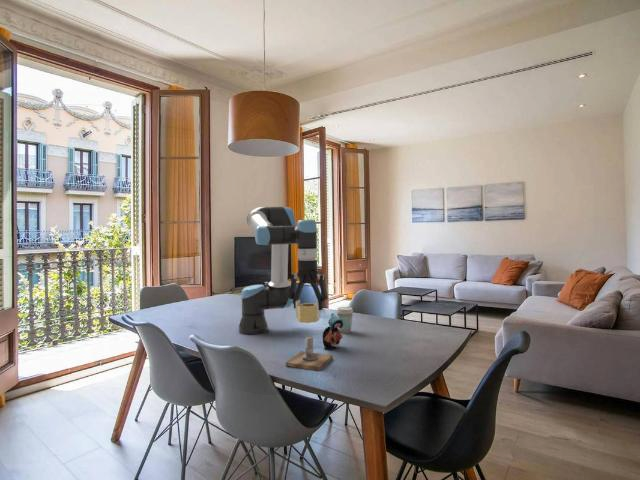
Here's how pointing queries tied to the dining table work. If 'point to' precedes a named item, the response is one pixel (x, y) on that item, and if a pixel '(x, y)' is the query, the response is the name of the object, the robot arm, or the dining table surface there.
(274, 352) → the dining table surface
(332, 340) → the figurine
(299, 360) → the shaft block
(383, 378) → the dining table surface
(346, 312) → the coffee cup
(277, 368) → the dining table surface
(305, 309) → the hub
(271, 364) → the dining table surface
